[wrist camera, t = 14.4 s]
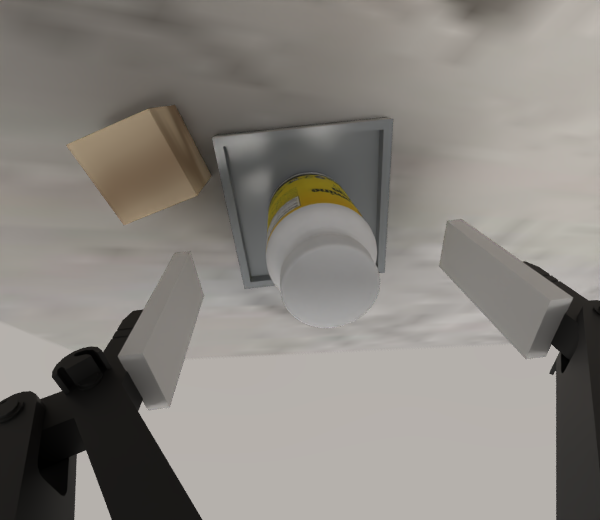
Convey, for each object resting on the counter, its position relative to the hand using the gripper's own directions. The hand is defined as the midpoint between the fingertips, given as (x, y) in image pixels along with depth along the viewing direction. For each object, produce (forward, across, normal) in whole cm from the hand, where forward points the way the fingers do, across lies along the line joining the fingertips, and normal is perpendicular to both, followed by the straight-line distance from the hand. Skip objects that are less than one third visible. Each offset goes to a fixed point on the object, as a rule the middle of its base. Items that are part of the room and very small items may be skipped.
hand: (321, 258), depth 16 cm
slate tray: (+9, 0, -1) cm, 9 cm away
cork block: (+10, -10, +4) cm, 14 cm away
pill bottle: (+9, 0, -1) cm, 9 cm away
